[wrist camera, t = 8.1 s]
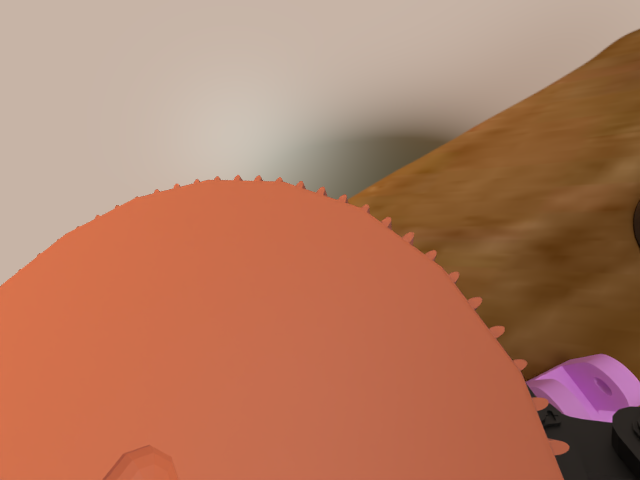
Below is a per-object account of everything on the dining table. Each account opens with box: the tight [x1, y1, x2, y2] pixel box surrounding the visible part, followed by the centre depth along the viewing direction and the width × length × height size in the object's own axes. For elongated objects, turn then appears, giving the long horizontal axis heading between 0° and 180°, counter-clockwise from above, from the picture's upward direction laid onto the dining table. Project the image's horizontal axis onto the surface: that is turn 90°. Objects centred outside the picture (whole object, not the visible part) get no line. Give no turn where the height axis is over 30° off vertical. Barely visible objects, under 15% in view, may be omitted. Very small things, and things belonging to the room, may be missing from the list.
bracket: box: [526, 354, 640, 423], centre depth 23 cm, size 13×6×7 cm, turn 25°
